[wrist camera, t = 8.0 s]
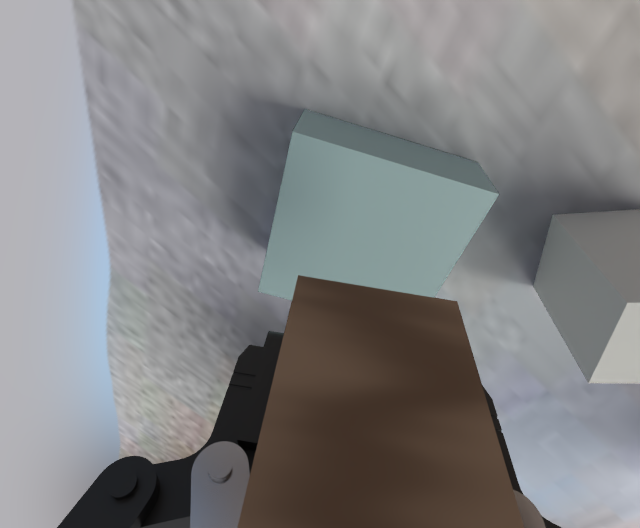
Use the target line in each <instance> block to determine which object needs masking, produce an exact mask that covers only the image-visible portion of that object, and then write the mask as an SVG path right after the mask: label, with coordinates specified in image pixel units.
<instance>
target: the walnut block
mask: <svg viewBox="0 0 640 528" xmlns="http://www.w3.org/2000/svg"><path fill="white" fill-rule="evenodd" d="M237 528H524V525H523V522H522V519H521V515H520V512H519V508H518V505H517V502H516V498H515V495H514V492H513V488H512V485H511V481H510V478H509V475H508V471H507V468H506V465H505V461H504V458H503V454H502V451H501V448H500V444H499V441H498V438H497V434H496V431H495V428H494V424H493V421H492V417H491V414H490V411H489V407H488V404H487V401H486V397H485V394H484V390H483V387H482V384H481V380H480V377H479V374H478V370H477V367H476V364H475V360H474V357H473V353H472V350H471V347H470V343H469V340H468V337H467V333H466V330H465V326H464V323H463V320H462V316H461V313H460V310H459V306H458V303H457V301H451V300H445V299H439V298H433V297H427V296H421V295H415V294H409V293H403V292H397V291H391V290H385V289H379V288H373V287H367V286H360V285H354V284H348V283H342V282H336V281H330V280H324V279H318V278H312V277H306V276H300V275H298V278H297V282H296V286H295V290H294V295H293V299H292V303H291V307H290V311H289V315H288V319H287V324H286V328H285V332H284V336H283V340H282V344H281V348H280V353H279V357H278V361H277V365H276V369H275V373H274V378H273V382H272V386H271V390H270V394H269V398H268V402H267V407H266V411H265V415H264V419H263V423H262V427H261V431H260V436H259V440H258V444H257V448H256V452H255V456H254V461H253V465H252V469H251V473H250V477H249V481H248V485H247V490H246V494H245V498H244V502H243V506H242V510H241V514H240V519H239V523H238V527H237Z"/></svg>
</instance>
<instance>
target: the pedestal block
mask: <svg viewBox="0 0 640 528" xmlns="http://www.w3.org/2000/svg"><path fill="white" fill-rule="evenodd" d="M498 196H499V193H498V192H497V190H496V189H495V187H494V186H493V184H492V183H491V181H490V180H489V178H488V177H487V175H486V174H485V172H484V171H483V169H482V168H481V166H480V165H479V163H478V162H475V161H472V160H469V159H465V158H462V157H459V156H456V155H452V154H449V153H446V152H443V151H439V150H436V149H433V148H430V147H427V146H423V145H420V144H417V143H414V142H410V141H407V140H404V139H401V138H397V137H394V136H391V135H388V134H385V133H381V132H378V131H375V130H372V129H368V128H365V127H362V126H359V125H355V124H352V123H349V122H346V121H342V120H339V119H336V118H333V117H330V116H326V115H323V114H320V113H317V112H313V111H310V110H307V109H305V110H304V111H303V113H302V115H301V117H300V119H299V121H298V122H297V124H296V126H295V128H294V130H293V132H292V136H291V141H290V145H289V150H288V155H287V159H286V164H285V169H284V173H283V178H282V183H281V187H280V192H279V196H278V201H277V206H276V210H275V215H274V220H273V224H272V229H271V234H270V238H269V243H268V248H267V252H266V257H265V261H264V266H263V271H262V275H261V280H260V285H259V289H258V292H261V293H265V294H269V295H273V296H276V297H280V298H284V299H288V300H291V301H292V299H293V295H294V290H295V286H296V282H297V278H298V275H300V276H306V277H312V278H318V279H324V280H330V281H336V282H342V283H348V284H354V285H360V286H367V287H373V288H379V289H385V290H391V291H397V292H403V293H409V294H415V295H421V296H427V297H433V298H434V297H435V295H436V294H437V292H438V291H439V289H440V288H441V286H442V284H443V283H444V281H445V280H446V278H447V276H448V275H449V273H450V272H451V270H452V268H453V267H454V265H455V264H456V262H457V261H458V259H459V257H460V256H461V254H462V253H463V251H464V249H465V248H466V246H467V245H468V243H469V242H470V240H471V238H472V237H473V235H474V234H475V232H476V230H477V229H478V227H479V226H480V224H481V222H482V221H483V219H484V218H485V216H486V215H487V213H488V211H489V210H490V208H491V207H492V205H493V203H494V202H495V200H496V199H497V197H498Z"/></svg>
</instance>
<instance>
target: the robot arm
mask: <svg viewBox="0 0 640 528" xmlns="http://www.w3.org/2000/svg"><path fill="white" fill-rule="evenodd" d="M283 336H284V333H278V332H272V331H269V332H268V334H267V338H266V341H265V345H264V347H260V346H253V345H249V346H248V347H247V348H246V349H245V351H244V352H243V353H242V354H241V355H240V356H239V358H238V361H237V363H236V366H235V369H234V373H233V375H232V378H231V381H230V383H229V387H228V389H227V392H226V395H225V398H224V401H223V404H222V406H221V409H220V412H219V415H218V418H217V421H216V424H215V426H214V429H213V432H212V434H211V437H210V438H209V440H208V442H207V443H206V444H205V445H204V446H203V447H202V448H201V449H200V450H199V451H197V452H196V453H195V454H193V455H191V456H189V457H186V458H184V459H180V460H175V461H169V462H164V463H158V464H152V463H151V462H150V461H149V460H147V459H146V458H143V457H140V456H129V457H125V458H122V459H119V460H117V461H115V462H114V463H112V464H111V465H109V466H108V467H107V468H106V469H105V470H104V471H103V472H102V473H101V474H100V475H99V476H98V478H97V479H96V480H95V481H94V483H93V484H92V485H91V486H90V488H89V489H88V490H87V491H86V493H85V494H84V495H83V496H82V498H81V499H80V500H79V501H78V502H77V504H76V505H75V506H74V507H73V509H72V510H71V511H70V512H69V514H68V515H67V516H66V517H65V519H64V520H63V521H62V523H61V524H60V525H59V526H58V527H57V528H237V527H238V523H239V519H240V514H241V510H242V506H243V502H244V498H245V494H246V490H247V485H248V481H249V477H250V473H251V469H252V465H253V461H254V456H255V452H256V448H257V444H258V440H259V436H260V431H261V427H262V423H263V419H264V415H265V411H266V407H267V402H268V398H269V394H270V390H271V386H272V382H273V378H274V373H275V369H276V365H277V361H278V357H279V353H280V348H281V344H282V340H283ZM482 387H483V386H482ZM483 390H484V394H485V397H486V401H487V404H488V407H489V411H490V414H491V417H492V421H493V424H494V428H495V431H496V434H497V438H498V441H499V444H500V448H501V451H502V454H503V458H504V461H505V465H506V468H507V471H508V475H509V478H510V481H511V485H512V488H513V492H514V495H515V498H516V502H517V505H518V508H519V512H520V515H521V519H522V522H523V525H524V528H561V527H559V526H557V525H555V524H553V523H552V522H550V521H548V520H546V519H545V518H544V517H542V516H541V514H540V513H539V511H538V510H537V508H536V507H535V506H534V504H533V503H532V502H531V501H530V500H529V499H528V498H527V497H525V496H524V495H523V493H522V491H521V489H520V486H519V484H518V481H517V477H516V474H515V471H514V468H513V465H512V461H511V458H510V455H509V452H508V449H507V445H506V442H505V439H504V436H503V433H501V430H502V429H501V426H500V423H499V420H498V419H497V413H496V410H495V407H494V404H493V400H492V398H491V397H490V396H489V394H488V393H487V391H486V390H485V388H484V387H483Z"/></svg>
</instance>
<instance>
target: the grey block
mask: <svg viewBox="0 0 640 528" xmlns="http://www.w3.org/2000/svg"><path fill="white" fill-rule="evenodd" d="M533 287H534V289H535V290H536V292H537V294H538V296H539V297H540V299H541V301H542V303H543V304H544V306H545V308H546V310H547V311H548V313H549V315H550V317H551V318H552V320H553V322H554V324H555V325H556V327H557V329H558V331H559V332H560V334H561V336H562V338H563V339H564V341H565V343H566V345H567V346H568V348H569V350H570V352H571V353H572V355H573V357H574V359H575V360H576V362H577V364H578V366H579V367H580V369H581V371H582V373H583V374H584V376H585V378H586V380H587V381H588V383H627V384H640V209H635V210H619V211H603V212H587V213H571V214H555V215H552V219H551V223H550V226H549V230H548V234H547V237H546V241H545V245H544V248H543V252H542V256H541V259H540V263H539V267H538V271H537V274H536V278H535V282H534V285H533Z"/></svg>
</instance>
